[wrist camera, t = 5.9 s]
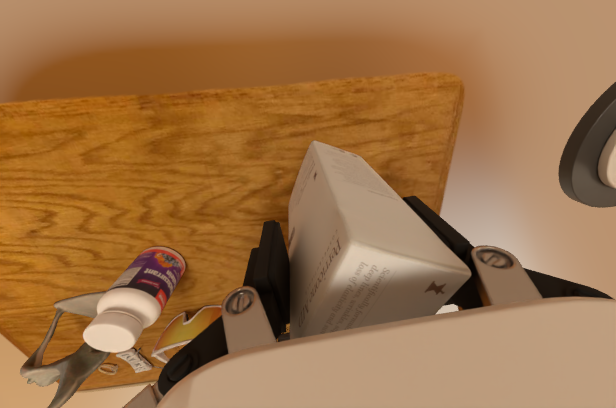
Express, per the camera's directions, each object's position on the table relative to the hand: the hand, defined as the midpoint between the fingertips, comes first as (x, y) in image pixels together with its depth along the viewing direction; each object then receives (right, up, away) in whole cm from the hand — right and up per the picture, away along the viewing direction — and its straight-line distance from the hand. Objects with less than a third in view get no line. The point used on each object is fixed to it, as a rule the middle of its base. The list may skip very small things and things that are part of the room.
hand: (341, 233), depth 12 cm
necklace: (-29, -24, +24) cm, 45 cm away
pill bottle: (-20, -6, +16) cm, 26 cm away
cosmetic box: (-1, +3, +6) cm, 7 cm away
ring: (-35, -26, +25) cm, 50 cm away
